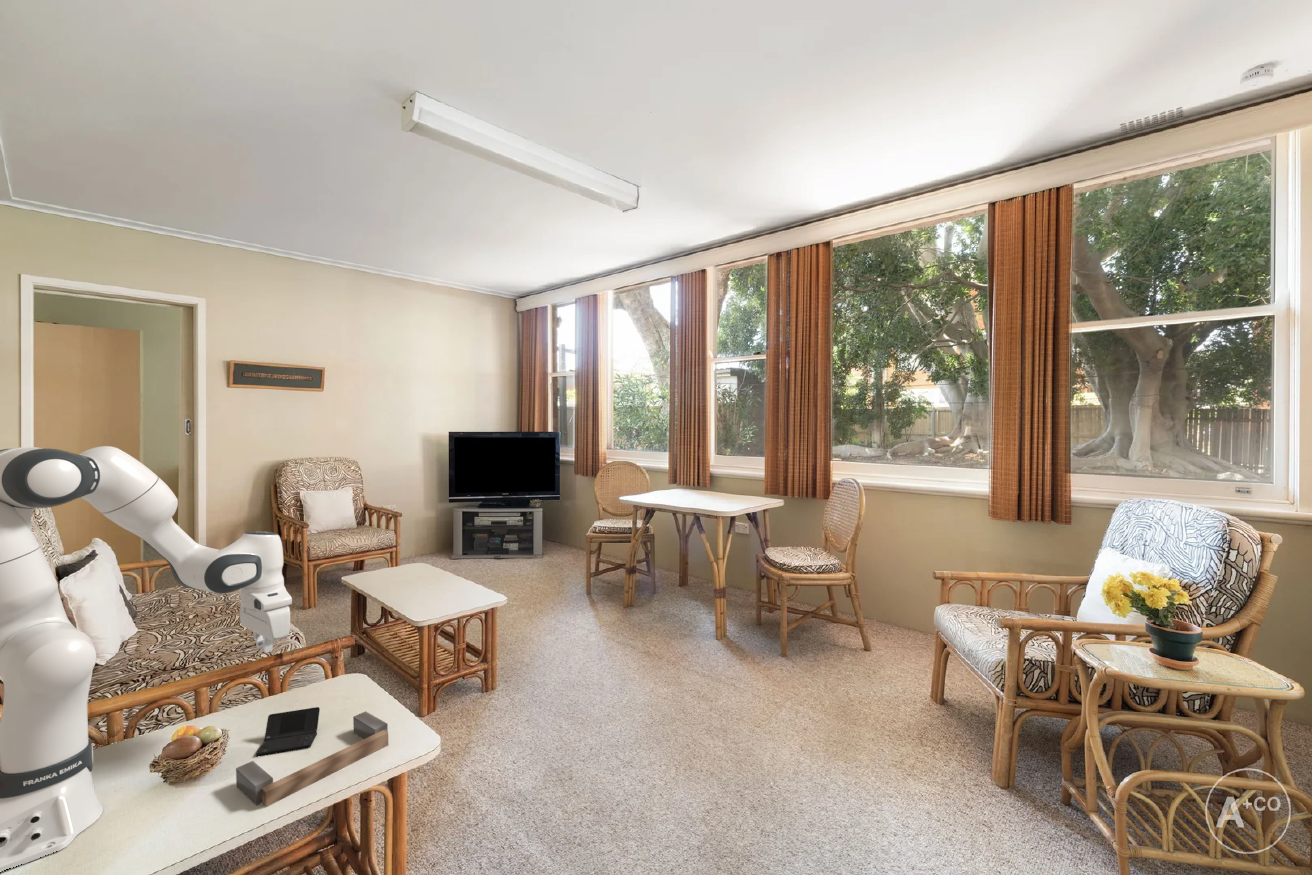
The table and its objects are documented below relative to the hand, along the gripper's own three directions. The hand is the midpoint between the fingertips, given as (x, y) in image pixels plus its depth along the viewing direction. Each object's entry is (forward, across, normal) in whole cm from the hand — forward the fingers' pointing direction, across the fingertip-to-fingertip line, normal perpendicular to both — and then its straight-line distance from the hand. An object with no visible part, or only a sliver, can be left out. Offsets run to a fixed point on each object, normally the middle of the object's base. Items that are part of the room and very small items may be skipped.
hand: (264, 649), depth 137 cm
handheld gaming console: (+20, +13, 0) cm, 23 cm away
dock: (+19, +28, 0) cm, 34 cm away
